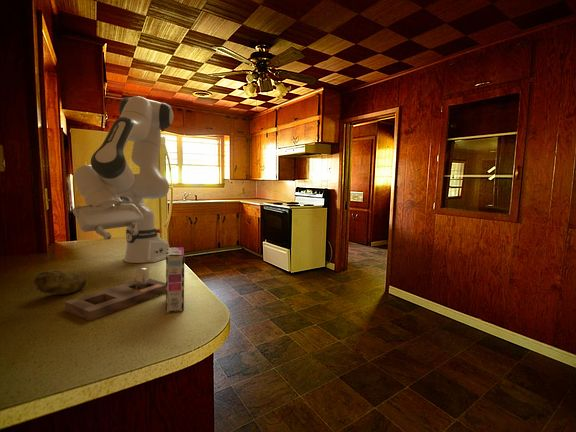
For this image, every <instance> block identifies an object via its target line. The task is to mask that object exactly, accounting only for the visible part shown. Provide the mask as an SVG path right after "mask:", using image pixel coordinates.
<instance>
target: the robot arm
mask: <svg viewBox="0 0 576 432" xmlns="http://www.w3.org/2000/svg"><path fill="white" fill-rule="evenodd" d="M118 112H119V117H118V118H116V120H115V121H114V122H113V124H112V126H111V127H110V129H109V131H108V133H107V135H106V137H105V139H104V141H103V143H101V145H100V146H99V147H98V148H97V149H96V151H95V152H93V154H92V156H91V157H90V164H84V165H81V166H79V167H78V168H77V169H76V170H75V172H74V174H73V180H74V183H75V186H76V188H77V190H78V192H79V194H80V195H81V196H82V197H83V199H84V201H85V204H86V205H77V206H75V207H73V209H72V213H73V216H75V218H76V221H77V224H78V226H79V228H80V230H81V231H83V232H85V233H86V232H87V233H88V232H94V231H95V232H96V234H98V235H99V236H101V237H102V238H103V239H104V240H105V241H106V240H111V238H112V235H111V232H109V231H108V232H107V231H106V230H110V229H121V228H126V229H125V239H126V247H125V249H126V250H125V254H124V258H123V262H125V263H131V264H132V263H133V264H139V263H140V264H143V263H156V262H160V261H163V260H166V252H167V248H171V247H170V244H169V242H167V241H166V240H165V239H163V238H162V237H160V236H159V235H158V234H161V233H162V232H163V230H162V228H155V213H154V211H153V209H152V208H150V207H148V206H147V205H146V204H145V201H144V199H146V200H147V199H148V200H155V199H157V200H158V199H163V198H165V197H166V196H167V194H169V190H170V189H169V188H170V184H169V181H168V180H167V178H166V177H165V176H163V174H162V173H161V171H160V168H159V161H160V160H159V157H160V151H161V142H162V133H161V132H164V131H165V130H166V129H168V128H170V127H171V125H172V124H173V121H174V118H175V116H174V111H173V107H172V106H171V105H170V104H168V103H165V102H159V101H157V100H152V99H147V98H145V97H143V96H139V95H138V96H137V95H135V96H132V97H123V98H122V99H120V101H119V103H118ZM128 141H129V142H130V141H131V142H133V145H132V150H131V156H130V157H131V161H132V163H134V164H135V165H136V166H137V167H139V173H134V172H133V170H132V168H130V165H129V164H128V162H127V160H126V157H125V149H126V146H127V143H128Z"/></svg>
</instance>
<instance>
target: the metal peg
mask: <svg viewBox="0 0 576 432" xmlns="http://www.w3.org/2000/svg"><path fill="white" fill-rule="evenodd" d="M133 270H134V281H135V289H136V290H141V289H144V288H147V287H149V279H150V277H149V267H148V266H138V267H134V269H133Z"/></svg>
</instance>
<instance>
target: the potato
mask: <svg viewBox="0 0 576 432" xmlns="http://www.w3.org/2000/svg"><path fill="white" fill-rule="evenodd" d="M33 283H34V286H35V287H36V289H37V291H40V292H42V293H44V294H54V295H55V294H56V295H69V294H72V293H75V292H78V291H80V290H81V289H83V288H84V287H85V286H86V285H87V279H86V277H85V276H83V275H81V274H77V273H69V272H65V271H61V270H57V269H51V270H50V269H48V270H44V271H42V272H40V273H38V274H37V275H35V277H34V280H33Z"/></svg>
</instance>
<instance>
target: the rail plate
mask: <svg viewBox="0 0 576 432" xmlns="http://www.w3.org/2000/svg"><path fill="white" fill-rule="evenodd" d="M165 292H166V282H163V281H160V280H157V279H152V278H149V287H147V288H144V289H141V290H136V289H135V280H133V281H130V282H126V283H123V284H119V285H116V286H113V287H109V288H107V289H102V290H100V291H95V292H93V293H89V294H86V295H83V296H79V297H75V298H73V299H69V300H66V301H64V309H65V311H66V312H68V313H71V314H73V315H75V316H78V317H79V318H82V319H84V320H87V321H90V322H91V321H93V320H96V319H99V318H101V317H104V316H108V315H109V314H112V313H115V312H118V311H120V310H123V309H125V308H129V307H131V306H135V305H137V304H139V303H143V302H146V301H147V299H148V300H150V298H151V299H154V298H156V297H158V296H157V295H159V296H161V295H163V294H162V293H164V294H166V293H165ZM160 294H161V295H160ZM155 296H156V297H155ZM142 301H143V302H142Z"/></svg>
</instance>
